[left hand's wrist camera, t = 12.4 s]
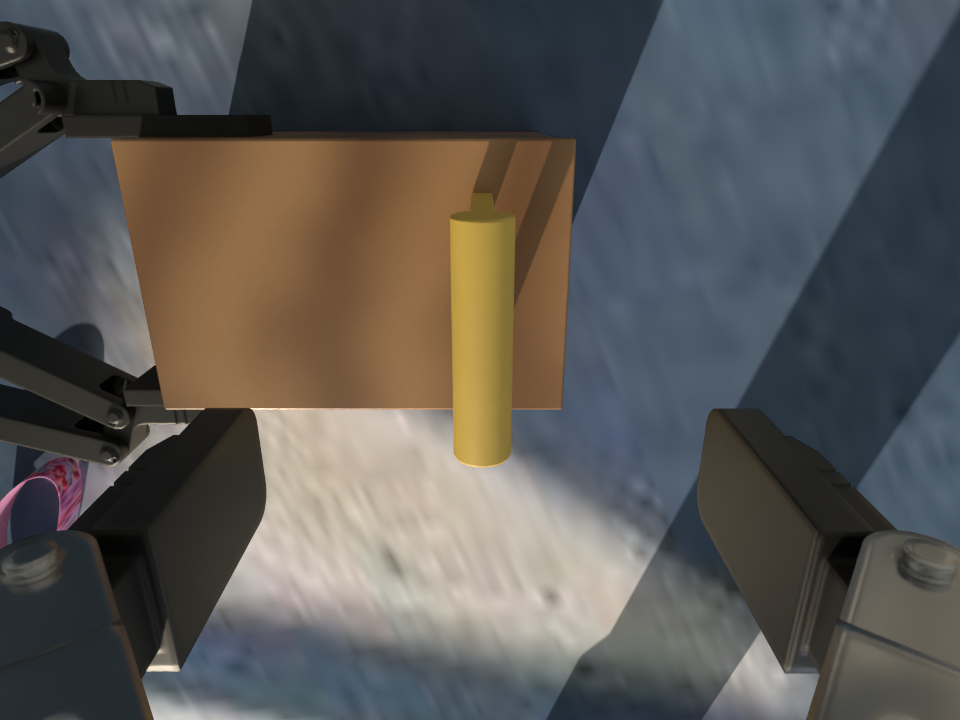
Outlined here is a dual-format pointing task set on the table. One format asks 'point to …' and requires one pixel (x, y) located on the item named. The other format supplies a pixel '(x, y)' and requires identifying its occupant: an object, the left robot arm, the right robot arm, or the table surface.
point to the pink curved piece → (68, 487)
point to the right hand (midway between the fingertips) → (276, 265)
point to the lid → (356, 274)
